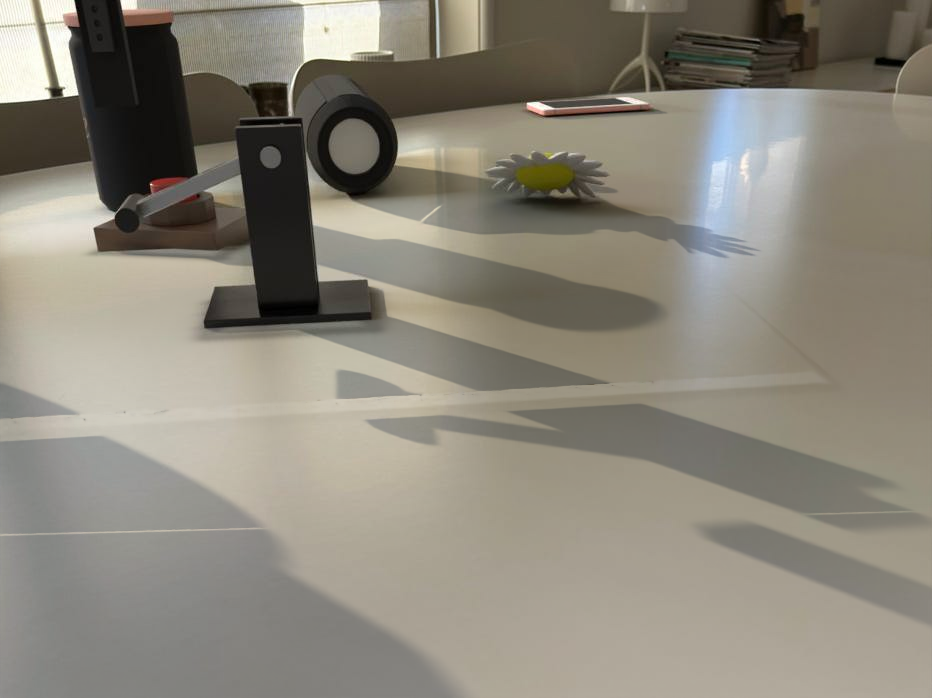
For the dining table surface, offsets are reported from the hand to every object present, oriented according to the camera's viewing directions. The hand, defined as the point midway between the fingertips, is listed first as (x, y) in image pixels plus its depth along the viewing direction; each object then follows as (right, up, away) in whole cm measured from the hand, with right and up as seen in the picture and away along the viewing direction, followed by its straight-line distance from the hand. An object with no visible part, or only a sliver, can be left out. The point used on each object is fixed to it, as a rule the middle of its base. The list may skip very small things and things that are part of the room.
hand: (117, 105), depth 73 cm
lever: (+6, -5, +2) cm, 8 cm away
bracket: (+11, -12, +8) cm, 18 cm away
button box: (-3, +1, +28) cm, 28 cm away
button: (-3, +4, +26) cm, 26 cm away
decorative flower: (+32, +13, +45) cm, 57 cm away
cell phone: (+42, +48, +98) cm, 117 cm away
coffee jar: (-10, +10, +42) cm, 44 cm away
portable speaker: (+9, +18, +53) cm, 57 cm away
